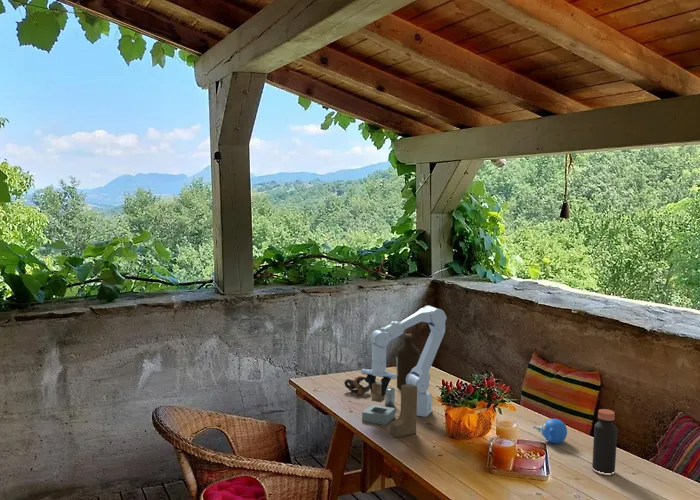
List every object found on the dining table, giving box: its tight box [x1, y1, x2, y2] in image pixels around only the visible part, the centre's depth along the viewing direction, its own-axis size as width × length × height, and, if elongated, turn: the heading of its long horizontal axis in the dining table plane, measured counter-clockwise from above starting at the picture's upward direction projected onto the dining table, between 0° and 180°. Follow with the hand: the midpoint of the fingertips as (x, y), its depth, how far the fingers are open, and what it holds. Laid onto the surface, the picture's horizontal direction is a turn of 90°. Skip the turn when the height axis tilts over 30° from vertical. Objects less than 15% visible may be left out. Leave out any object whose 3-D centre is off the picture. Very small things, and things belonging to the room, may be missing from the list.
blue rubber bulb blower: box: [532, 418, 568, 444], centre depth 220 cm, size 12×12×8 cm
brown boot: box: [389, 384, 417, 438], centre depth 224 cm, size 9×4×18 cm, turn 120°
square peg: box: [371, 380, 385, 403], centre depth 241 cm, size 4×4×7 cm
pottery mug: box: [343, 376, 371, 396], centre depth 272 cm, size 12×10×8 cm
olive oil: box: [395, 333, 420, 390], centre depth 280 cm, size 11×11×25 cm
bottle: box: [591, 408, 618, 473], centre depth 195 cm, size 7×7×20 cm
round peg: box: [384, 387, 396, 408], centre depth 256 cm, size 4×4×7 cm
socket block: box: [361, 404, 396, 426], centre depth 240 cm, size 10×10×4 cm
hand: (378, 394), depth 241 cm, fingers closed on square peg, 4 cm apart
